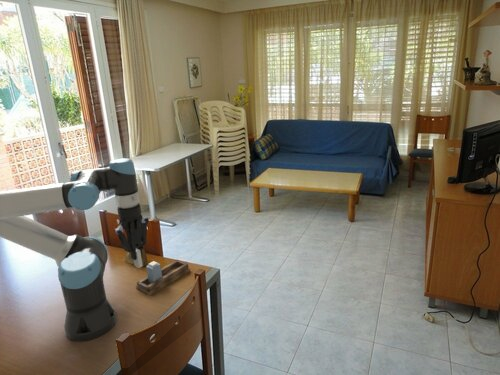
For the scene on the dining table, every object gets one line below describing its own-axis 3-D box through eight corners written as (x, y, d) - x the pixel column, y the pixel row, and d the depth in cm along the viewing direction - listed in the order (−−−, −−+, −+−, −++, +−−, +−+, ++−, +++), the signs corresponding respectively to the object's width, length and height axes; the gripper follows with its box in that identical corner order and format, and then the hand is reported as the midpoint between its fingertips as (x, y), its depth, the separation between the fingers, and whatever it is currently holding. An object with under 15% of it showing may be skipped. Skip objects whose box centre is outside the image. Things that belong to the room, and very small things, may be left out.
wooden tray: (150, 295, 131) (149, 288, 130) (136, 288, 136) (135, 281, 135) (190, 270, 146) (189, 264, 145) (176, 265, 151) (175, 258, 150)
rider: (154, 285, 135) (151, 266, 133) (148, 282, 137) (145, 264, 135) (162, 280, 138) (160, 262, 136) (156, 277, 140) (154, 259, 138)
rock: (154, 259, 152) (149, 246, 160) (140, 248, 147) (135, 236, 155) (135, 277, 151) (130, 264, 159) (120, 267, 146) (116, 254, 154)
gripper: (118, 213, 115) (129, 277, 123) (151, 200, 125) (159, 260, 133) (104, 208, 120) (116, 271, 127) (137, 196, 129) (146, 255, 137)
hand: (138, 265), depth 130 cm, fingers closed
